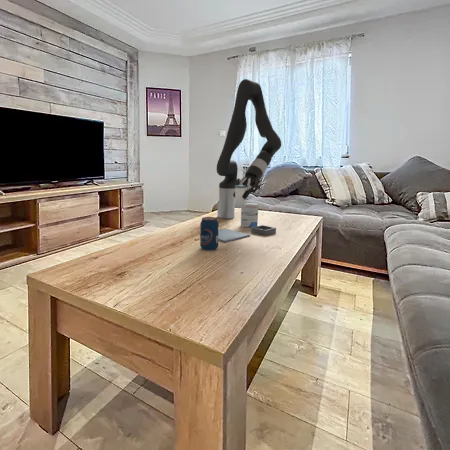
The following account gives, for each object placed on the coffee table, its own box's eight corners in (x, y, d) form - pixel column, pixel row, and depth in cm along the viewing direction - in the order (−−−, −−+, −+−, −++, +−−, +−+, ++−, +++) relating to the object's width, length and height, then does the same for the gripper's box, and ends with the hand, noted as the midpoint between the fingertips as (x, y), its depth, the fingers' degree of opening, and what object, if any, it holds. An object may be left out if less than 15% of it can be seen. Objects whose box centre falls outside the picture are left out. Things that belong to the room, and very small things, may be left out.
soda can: (197, 249, 119) (197, 218, 117) (205, 245, 126) (205, 216, 123) (213, 252, 117) (213, 220, 114) (221, 247, 123) (221, 217, 120)
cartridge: (232, 207, 145) (233, 185, 143) (239, 206, 149) (240, 184, 147) (240, 208, 142) (241, 186, 140) (247, 207, 146) (248, 185, 143)
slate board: (199, 235, 141) (199, 233, 141) (224, 230, 152) (224, 228, 152) (225, 242, 130) (225, 240, 130) (250, 236, 141) (250, 234, 141)
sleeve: (251, 232, 148) (251, 227, 148) (262, 229, 154) (262, 225, 154) (265, 235, 143) (265, 230, 142) (275, 233, 149) (276, 227, 148)
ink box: (257, 225, 164) (258, 203, 162) (257, 227, 159) (258, 204, 157) (241, 224, 165) (241, 202, 163) (240, 226, 160) (241, 204, 158)
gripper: (241, 164, 152) (223, 190, 146) (265, 165, 142) (247, 193, 136) (248, 175, 157) (231, 201, 151) (271, 176, 147) (254, 204, 141)
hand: (239, 197), depth 144 cm, fingers closed on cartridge, 5 cm apart
